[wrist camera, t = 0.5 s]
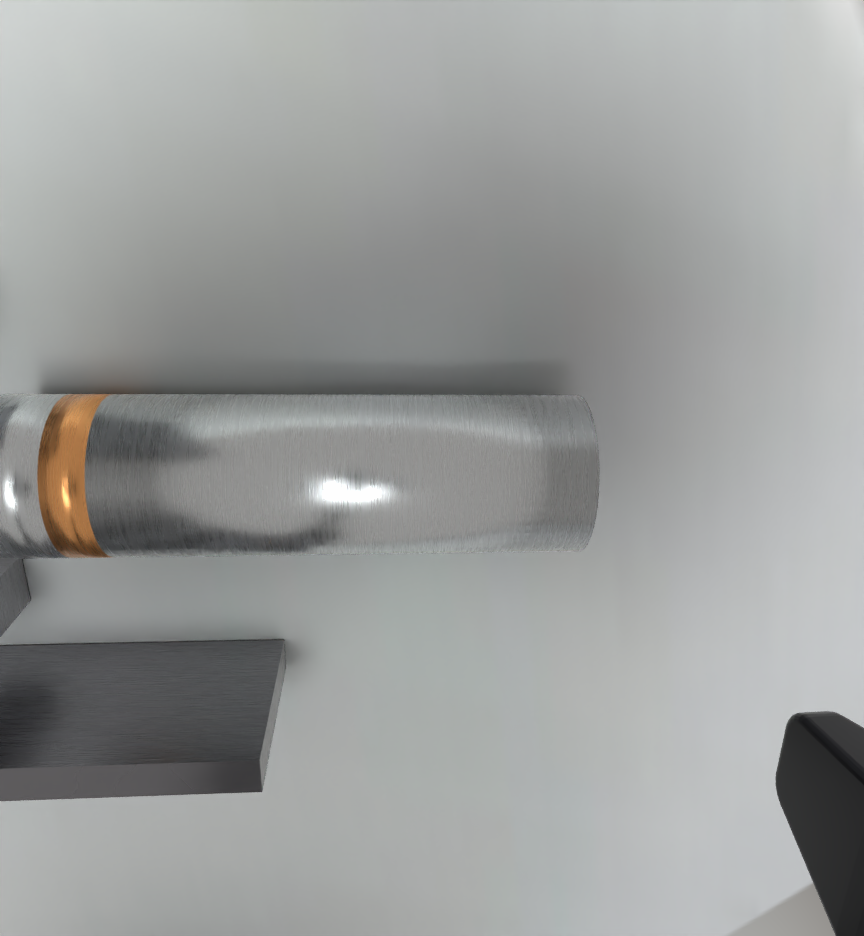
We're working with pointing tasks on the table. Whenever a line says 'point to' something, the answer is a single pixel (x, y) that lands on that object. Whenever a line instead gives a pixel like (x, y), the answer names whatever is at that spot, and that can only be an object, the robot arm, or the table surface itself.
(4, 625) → the twin upright pegs
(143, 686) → the gray rectangular bar
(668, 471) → the table surface
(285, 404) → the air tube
